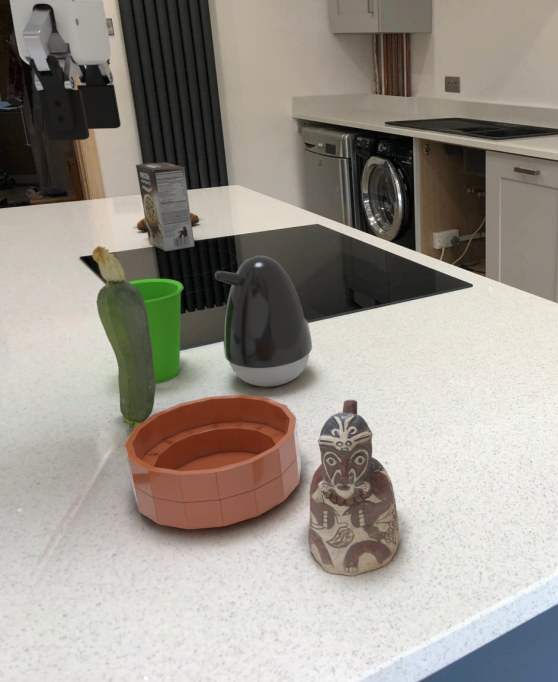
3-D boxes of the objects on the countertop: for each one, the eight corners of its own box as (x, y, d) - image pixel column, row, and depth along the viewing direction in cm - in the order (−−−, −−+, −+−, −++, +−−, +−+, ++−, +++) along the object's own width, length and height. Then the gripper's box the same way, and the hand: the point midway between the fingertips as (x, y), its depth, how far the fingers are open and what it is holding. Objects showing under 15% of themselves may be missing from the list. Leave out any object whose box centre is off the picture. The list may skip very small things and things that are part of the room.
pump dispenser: (212, 376, 90) (195, 255, 84) (289, 354, 96) (278, 240, 90) (249, 405, 82) (233, 274, 77) (330, 379, 88) (320, 257, 83)
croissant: (141, 235, 158) (137, 212, 157) (134, 229, 164) (130, 207, 162) (204, 226, 166) (201, 204, 164) (195, 221, 171) (192, 200, 169)
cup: (100, 385, 87) (82, 298, 83) (151, 357, 95) (136, 276, 91) (164, 395, 85) (148, 305, 81) (210, 364, 93) (198, 281, 89)
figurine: (296, 570, 56) (281, 431, 52) (326, 515, 63) (315, 388, 58) (387, 579, 55) (380, 439, 51) (407, 523, 62) (402, 394, 57)
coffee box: (147, 243, 152) (134, 164, 146) (178, 238, 155) (166, 161, 149) (164, 252, 145) (151, 169, 139) (196, 246, 149) (184, 165, 143)
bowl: (117, 544, 59) (103, 480, 57) (159, 454, 72) (149, 400, 70) (295, 529, 61) (288, 466, 59) (305, 444, 74) (300, 390, 72)
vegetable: (158, 414, 80) (126, 235, 73) (173, 429, 77) (141, 243, 70) (116, 427, 78) (79, 242, 70) (129, 442, 75) (92, 251, 67)
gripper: (38, -66, 68) (75, 125, 74) (-54, -101, 52) (3, 146, 58) (123, -65, 69) (152, 123, 75) (58, -100, 53) (102, 143, 59)
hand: (87, 133), depth 67 cm, fingers open, 9 cm apart
